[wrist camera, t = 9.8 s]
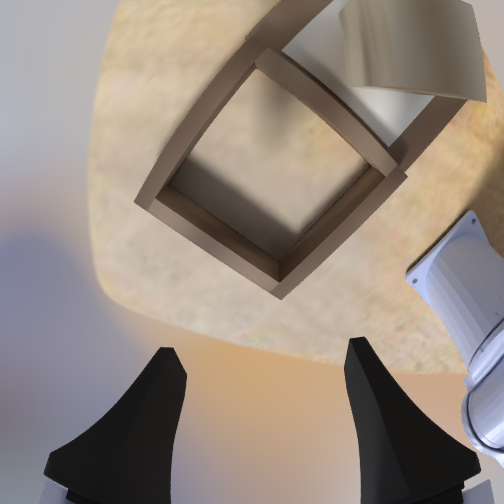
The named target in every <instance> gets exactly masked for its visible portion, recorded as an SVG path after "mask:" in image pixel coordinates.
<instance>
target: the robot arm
mask: <svg viewBox="0 0 504 504" xmlns="http://www.w3.org/2000/svg"><path fill="white" fill-rule="evenodd" d="M472 220H473V221H472ZM405 278H406V280H407V282H408V283H409V284H410V285H411V286H412V287H413V288H414V289H415V290H416V291H417V293H418V294H419V295H420V296H421V297H422V298H423V299H424V300H425V301H426V303H427V304H428V305H429V306H430V307H431V308H432V309H433V310H434V312H435V313H436V314H437V315H438V316H439V317H440V319H441V320H442V322H443V323H444V325H445V327H446V329H447V331H448V332H449V334H450V336H451V338H452V340H453V342H454V344H455V345H456V347H457V349H458V351H459V353H460V355H461V357H462V359H463V361H464V363H465V365H466V367H467V370H468V372H469V373H468V375H467V376H466V378H465V379H464V383H465V385H466V388H467V390H468V392H467V393H466V395H465V397H464V399H463V403H462V408H461V418H462V425H463V428H464V431H465V434H466V436H467V438H468V439H469V441H470V442H471V444H472V445H473V446H474V447H475V448H476V449H477V450H479V451H480V452H482V453H485V454H488V455H490V456H492V457H494V458H495V459H496V460H497V461H498V462H499V463H500V464H501V466H502V467H503V468H504V259H503V258H502V257H501V256H500V255H499V254H498V253H497V252H496V251H495V250H494V249H493V248H492V247H491V246H490V243H489V241H488V239H487V237H486V234H485V232H484V230H483V228H482V226H481V224H480V222H479V220H478V217H477V215H476V214H475V212H474V211H473V210H468V211H467V212H466V213H465V215H464V216H463V217H462V218H461V219H460V220H459V221H458V222H457V223H456V225H455V226H454V227H453V228H452V229H451V230H450V231H449V232H448V233H447V234H446V235H445V236H444V237H443V238H442V239H441V240H440V241H439V242H438V243H437V244H436V245H435V246H434V247H433V248H432V249H431V250H430V251H429V252H428V253H427V254H426V255H425V256H424V257H423V258H422V259H421V260H420V261H419V262H418V263H417V264H416V265H415V266H414V267H413V268H412V269H411V270H409V271H408V272H407V274H406V276H405ZM415 278H416V279H415ZM413 279H415V280H413ZM344 373H345V380H346V388H347V393H348V397H349V401H350V406H351V410H352V413H353V418H354V422H355V427H356V431H357V437H358V444H359V455H360V470H361V504H494V498H493V493H492V487H491V482H490V480H486V481H484V482H482V483H480V484H479V485H477V486H475V487H473V488H471V489H468V490H466V491H463V492H462V490H461V489H463V488H464V487H465V486H464V481H465V480H467V479H469V478H471V477H473V476H475V475H477V474H479V473H480V472H481V467H480V463H479V459H478V457H477V454H476V452H474V451H472V450H470V449H469V448H467V447H466V446H464V445H462V444H461V443H459V442H458V441H457V440H455V439H454V438H453V437H451V436H450V435H448V434H447V433H446V432H445V431H444V430H442V429H441V428H440V427H439V426H438V425H436V424H435V423H434V422H433V421H431V419H430V418H429V417H427V416H426V415H425V414H424V413H423V412H422V411H421V410H420V409H419V408H418V407H417V406H416V405H415V404H414V402H413V401H412V400H411V399H410V398H409V397H408V396H407V394H406V393H405V392H404V391H403V390H402V388H401V387H400V386H399V385H398V383H397V382H396V381H395V380H394V378H393V377H392V376H391V374H390V373H389V372H388V370H387V369H386V367H385V366H384V365H383V363H382V362H381V360H380V359H379V357H378V356H377V354H376V353H375V351H374V350H373V348H372V347H371V345H370V344H369V342H368V340H367V339H366V338H365V337H357V338H350V339H349V345H348V350H347V355H346V360H345V365H344ZM186 380H187V374H186V372H185V370H184V368H183V366H182V364H181V362H180V360H179V358H178V357H177V354H176V352H175V350H174V348H169V347H167V348H165V347H160V348H159V350H158V351H157V352H156V353H155V355H154V356H153V357H152V359H151V360H150V362H149V363H148V364H147V366H146V367H145V368H144V370H143V371H142V372H141V374H140V375H139V376H138V377H137V379H136V380H135V381H134V383H133V384H132V385H131V386H130V388H129V389H128V390H127V391H126V392H125V394H124V395H123V396H122V397H121V398H120V400H119V401H118V402H117V403H116V404H115V405H114V406H113V407H112V408H111V409H110V410H109V411H108V412H107V413H106V414H105V415H104V416H103V417H102V418H101V419H100V420H99V421H97V422H96V423H95V424H94V425H93V426H91V427H90V428H89V429H88V430H87V431H85V432H84V433H82V434H81V435H80V436H78V437H77V438H75V439H74V440H72V441H71V442H69V443H68V444H66V445H64V446H62V447H61V448H59V449H57V450H55V451H53V452H51V453H50V455H49V458H48V461H47V464H46V467H45V470H44V475H45V476H47V477H48V478H50V479H52V480H53V481H55V482H57V483H59V484H61V485H63V486H64V487H66V488H68V490H67V489H65V488H62V487H60V486H59V485H57V484H55V483H53V482H51V481H49V480H46V481H45V484H44V488H43V491H42V495H41V499H40V502H39V504H171V494H170V486H171V484H170V483H171V482H170V481H171V463H172V451H173V444H174V438H175V434H176V430H177V426H178V422H179V418H180V413H181V409H182V405H183V401H184V397H185V390H186Z"/></svg>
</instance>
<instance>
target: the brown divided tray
mask: <svg viewBox="0 0 504 504" xmlns="http://www.w3.org/2000/svg"><path fill="white" fill-rule="evenodd" d="M350 1H351V0H282V1H281V2H280V3H279V4H278V5H277V6H276V7H274V8H273V9H272V10H271V11H270V12H269V13H268V14H267V15H266V16H265V17H264V18H263V19H262V20H261V21H260V22H259V23H258V24H257V25H256V26H255V27H254V28H253V29H252V31H251V32H250V33H249V34H248V35H247V36H246V37H245V40H246V42H245V43H244V44H243V45H242V47H241V48H240V49H239V50H238V51H237V52H236V53H235V55H234V56H233V57H232V58H231V59H230V60H229V62H228V63H227V64H226V65H225V66H224V68H223V69H222V70H221V71H220V72H219V74H218V75H217V76H216V77H215V79H214V80H213V81H212V82H211V84H210V85H209V86H208V88H207V89H206V90H205V91H204V93H203V94H202V95H201V97H200V98H199V99H198V101H197V102H196V103H195V105H194V106H193V108H192V109H191V110H190V112H189V113H188V115H187V116H186V117H185V119H184V120H183V122H182V123H181V125H180V126H179V128H178V129H177V131H176V132H175V134H174V135H173V137H172V138H171V140H170V141H169V143H168V144H167V146H166V147H165V149H164V151H163V152H162V154H161V155H160V157H159V159H158V160H157V162H156V164H155V165H154V167H153V169H152V170H151V172H150V174H149V175H148V177H147V179H146V181H145V182H144V184H143V186H142V188H141V189H140V191H139V193H138V195H137V197H136V199H135V200H134V203H136V204H137V205H139V206H140V207H141V208H143V209H144V210H146V211H147V212H149V213H150V214H152V215H153V216H154V217H156V218H157V219H159V220H160V221H162V222H163V223H165V224H166V225H168V226H169V227H170V228H172V229H173V230H175V231H176V232H178V233H179V234H181V235H182V236H184V237H185V238H187V239H188V240H190V241H191V242H193V243H194V244H196V245H197V246H199V247H200V248H202V249H203V250H205V251H206V252H208V253H209V254H211V255H212V256H214V257H215V258H217V259H218V260H220V261H221V262H223V263H224V264H226V265H227V266H229V267H230V268H232V269H233V270H235V271H236V272H238V273H239V274H241V275H242V276H244V277H246V278H247V279H249V280H250V281H252V282H253V283H255V284H256V285H258V286H259V287H261V288H263V289H264V290H266V291H267V292H269V293H270V294H272V295H273V296H275V297H277V298H278V299H280V300H282V299H283V298H284V297H285V296H286V295H287V294H289V293H290V292H291V291H292V290H293V289H294V288H295V287H296V286H297V285H299V284H300V283H301V282H302V281H303V280H304V279H305V278H306V277H307V276H308V275H310V274H311V273H312V272H313V271H314V270H315V269H316V268H317V267H318V266H319V265H320V264H321V263H322V262H324V261H325V260H326V259H327V258H328V257H329V256H330V255H331V254H332V253H333V252H334V251H335V250H336V249H337V248H338V247H339V246H340V245H341V244H342V243H344V242H345V241H346V240H347V239H348V238H349V237H350V236H351V235H352V234H353V233H354V232H355V231H356V230H357V229H358V228H359V227H360V226H361V225H362V224H363V223H364V222H365V221H366V220H367V219H368V218H369V217H370V216H371V215H372V214H373V213H374V212H375V211H376V210H377V209H378V208H379V207H380V206H381V205H382V204H383V203H384V202H385V201H386V200H387V198H388V197H389V196H390V195H391V194H392V193H393V192H394V191H395V190H396V189H397V188H398V187H399V186H400V185H401V184H402V183H403V182H404V181H405V179H406V178H407V177H408V176H407V175H406V174H405V173H404V172H405V171H406V170H407V169H408V168H409V167H410V166H411V165H412V164H413V163H414V161H415V160H416V159H417V158H418V157H419V156H420V155H421V154H422V153H423V151H424V150H425V149H426V148H427V147H428V146H429V145H430V144H431V142H432V141H433V140H434V139H435V138H436V137H437V136H438V134H439V133H440V132H441V131H442V130H443V129H444V127H445V126H446V125H447V124H448V123H449V122H450V120H451V119H452V118H453V117H454V116H455V114H456V113H457V112H458V111H459V110H460V108H461V107H462V106H463V105H464V103H465V102H466V101H467V100H468V99H461V98H453V97H444V96H433V95H420V94H413V93H405V92H397V91H387V90H374V89H357V88H348V79H347V69H346V61H345V54H344V46H343V40H342V33H341V27H340V22H339V16H338V13H339V12H340V11H341V10H342V9H343V8H344V7H345V6H346V5H347V4H348V3H349V2H350ZM256 68H257V69H259V70H260V71H262V72H263V73H265V74H266V75H267V76H269V77H270V78H271V79H273V80H274V81H276V82H277V83H278V84H280V85H281V86H282V87H284V88H285V89H286V90H287V91H289V92H290V93H291V94H293V95H294V96H295V97H296V98H298V99H299V100H300V101H301V102H303V103H304V104H305V105H306V106H307V107H309V108H310V109H311V110H312V111H313V112H314V113H316V114H317V115H318V116H319V117H320V118H321V119H323V120H324V121H325V122H326V123H327V124H328V125H329V126H330V127H332V128H333V129H334V130H335V131H336V132H337V133H338V134H339V135H340V136H341V137H342V138H343V139H344V140H345V141H347V142H348V143H349V144H350V145H351V146H352V147H353V148H354V149H355V150H356V151H357V152H358V153H359V154H360V155H361V156H362V157H363V158H364V159H365V160H366V161H367V162H368V163H369V164H370V167H369V168H368V169H367V170H366V171H365V173H364V174H363V175H362V176H361V177H360V178H359V179H358V180H357V181H356V182H355V183H354V184H353V185H352V186H351V187H350V188H349V189H348V190H347V192H346V193H345V194H344V195H343V196H342V197H341V198H340V199H339V200H338V201H337V202H336V203H335V204H334V205H333V206H332V207H331V208H330V209H329V210H328V211H327V212H326V213H325V214H324V215H323V216H322V217H321V218H320V220H319V221H318V222H317V223H316V224H315V225H314V226H313V227H312V228H311V229H310V230H309V231H308V232H307V233H306V234H305V235H304V236H303V237H302V238H301V239H300V240H299V241H298V242H297V243H296V244H295V245H294V246H293V247H292V248H291V249H290V250H289V251H288V252H287V253H286V254H285V255H284V256H283V257H282V258H281V259H280V260H279V261H277V260H276V259H274V258H273V257H272V256H270V255H269V254H267V253H266V252H264V251H263V250H262V249H260V248H259V247H257V246H256V245H254V244H253V243H252V242H250V241H249V240H247V239H246V238H245V237H243V236H242V235H240V234H239V233H237V232H236V231H235V230H233V229H232V228H230V227H229V226H227V225H226V224H225V223H223V222H222V221H220V220H219V219H217V218H216V217H215V216H213V215H212V214H210V213H209V212H207V211H206V210H204V209H203V208H202V207H200V206H199V205H197V204H196V203H194V202H193V201H192V200H190V199H189V198H187V197H186V196H184V195H183V194H181V193H180V192H179V191H177V190H176V189H174V188H173V187H171V186H170V185H169V184H170V182H171V180H172V179H173V177H174V176H175V174H176V173H177V171H178V170H179V168H180V167H181V165H182V164H183V162H184V161H185V159H186V158H187V156H188V155H189V154H190V152H191V151H192V149H193V148H194V146H195V145H196V144H197V142H198V141H199V139H200V138H201V137H202V135H203V134H204V132H205V131H206V130H207V128H208V127H209V126H210V124H211V123H212V122H213V120H214V119H215V118H216V116H217V115H218V114H219V112H220V111H221V110H222V109H223V107H224V106H225V105H226V104H227V102H228V101H229V100H230V99H231V97H232V96H233V95H234V94H235V92H236V91H237V90H238V89H239V87H240V86H241V85H242V84H243V83H244V82H245V80H246V79H247V78H248V77H249V76H250V75H251V73H252V72H253V71H254V70H255V69H256Z"/></svg>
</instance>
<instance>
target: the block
mask: <svg viewBox="0 0 504 504" xmlns="http://www.w3.org/2000/svg"><path fill="white" fill-rule="evenodd" d="M338 16H339V22H340V27H341V33H342V40H343V46H344V54H345V61H346V69H347V79H348V88H357V89H374V90H387V91H397V92H405V93H413V94H420V95H433V96H444V97H453V98H461V99H468V100H474V101H480V102H486V103H487V98H486V82H485V71H484V63H483V55H482V49H481V43H480V37H479V32H478V28H477V23H476V19H475V15H474V11H473V8H472V5H470V4H468V3H466V2H463V1H461V0H351V1H350V2H349V3H348V4H347V5H346V6H345V7H344V8H343V9H342V10H341V11H340V12H339V13H338Z"/></svg>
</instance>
